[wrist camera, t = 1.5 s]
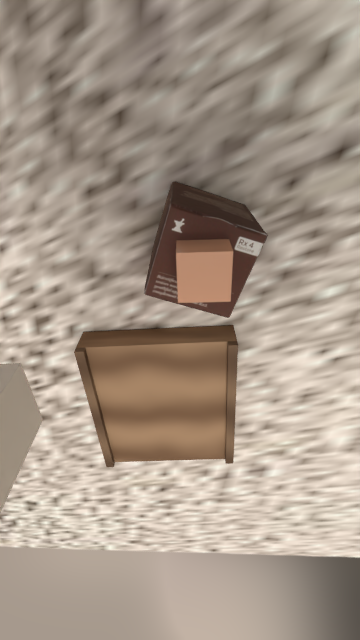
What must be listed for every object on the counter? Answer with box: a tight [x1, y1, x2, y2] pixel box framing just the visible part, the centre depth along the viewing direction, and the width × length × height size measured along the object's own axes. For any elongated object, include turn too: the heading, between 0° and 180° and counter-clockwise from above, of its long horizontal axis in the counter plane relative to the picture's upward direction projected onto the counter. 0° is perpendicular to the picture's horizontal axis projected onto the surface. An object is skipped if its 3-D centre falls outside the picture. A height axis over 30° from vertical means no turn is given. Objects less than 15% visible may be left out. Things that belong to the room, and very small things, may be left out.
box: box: [144, 182, 268, 318], centre depth 23 cm, size 6×6×7 cm
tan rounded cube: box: [176, 239, 233, 303], centre depth 19 cm, size 3×3×2 cm
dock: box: [74, 325, 238, 467], centre depth 34 cm, size 16×14×3 cm
